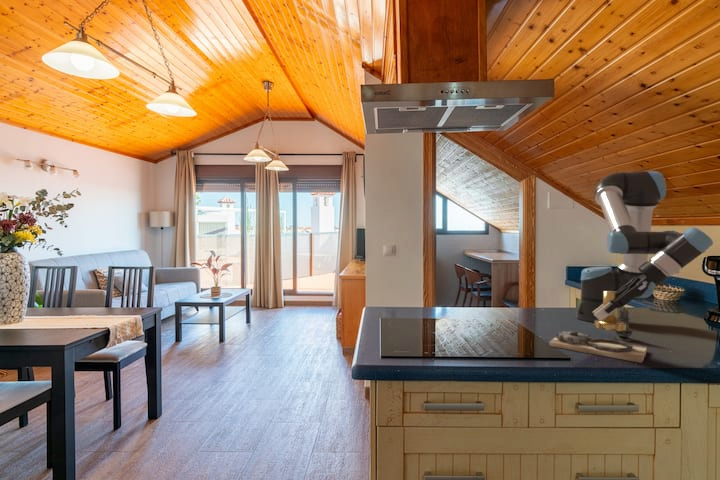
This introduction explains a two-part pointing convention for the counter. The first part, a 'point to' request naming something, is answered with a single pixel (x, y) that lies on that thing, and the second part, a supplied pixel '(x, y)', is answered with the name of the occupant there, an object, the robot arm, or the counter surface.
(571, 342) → the gear board
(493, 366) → the counter surface
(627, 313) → the stone chess piece
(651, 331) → the counter surface
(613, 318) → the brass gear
